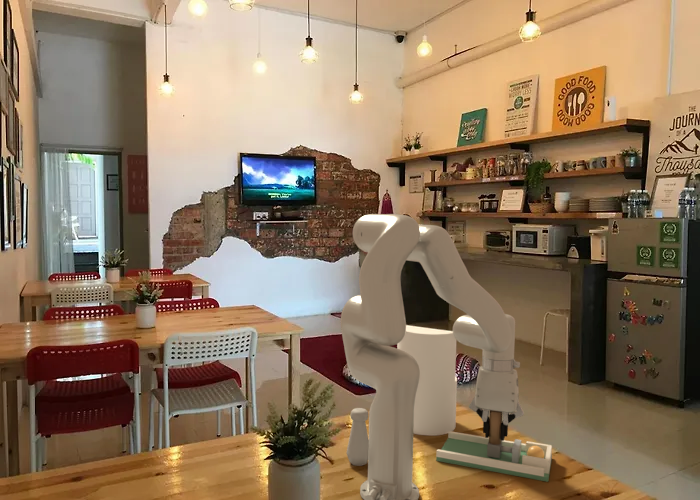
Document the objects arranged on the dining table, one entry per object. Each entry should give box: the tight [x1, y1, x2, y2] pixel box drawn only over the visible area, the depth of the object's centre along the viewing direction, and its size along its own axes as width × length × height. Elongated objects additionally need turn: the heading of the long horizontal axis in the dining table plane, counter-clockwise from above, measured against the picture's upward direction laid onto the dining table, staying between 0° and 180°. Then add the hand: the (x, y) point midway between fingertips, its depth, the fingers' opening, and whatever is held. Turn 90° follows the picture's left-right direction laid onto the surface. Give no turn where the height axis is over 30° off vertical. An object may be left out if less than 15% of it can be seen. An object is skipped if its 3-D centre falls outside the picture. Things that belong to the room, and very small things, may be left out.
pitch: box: [435, 431, 553, 483], centre depth 140 cm, size 14×26×4 cm, turn 67°
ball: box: [527, 446, 544, 458], centre depth 136 cm, size 4×4×4 cm
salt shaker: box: [346, 407, 369, 467], centre depth 137 cm, size 6×6×13 cm
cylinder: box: [396, 324, 458, 436], centre depth 163 cm, size 17×17×28 cm
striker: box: [487, 410, 522, 463], centre depth 139 cm, size 6×8×11 cm
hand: (495, 436), depth 140 cm, fingers closed on striker, 3 cm apart
